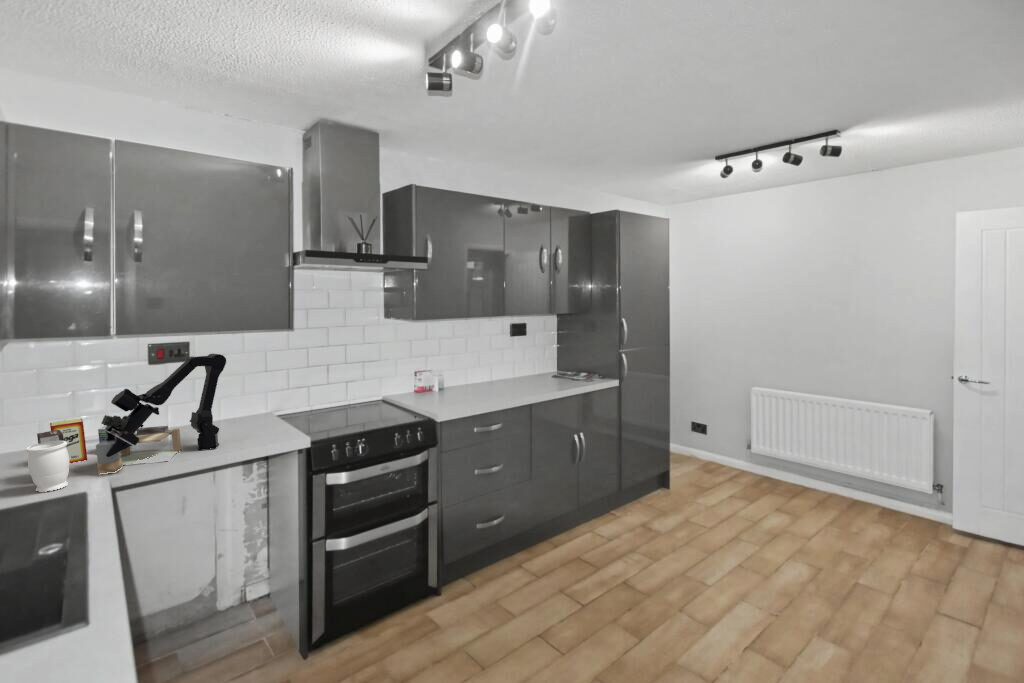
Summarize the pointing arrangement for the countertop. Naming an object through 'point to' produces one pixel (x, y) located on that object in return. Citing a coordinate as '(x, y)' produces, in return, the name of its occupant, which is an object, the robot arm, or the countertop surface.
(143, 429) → the trapdoor
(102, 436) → the light bulb box
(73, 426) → the baking soda box
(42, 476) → the jar
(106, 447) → the basalt block
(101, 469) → the plinth
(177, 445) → the stand
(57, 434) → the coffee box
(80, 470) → the countertop surface
